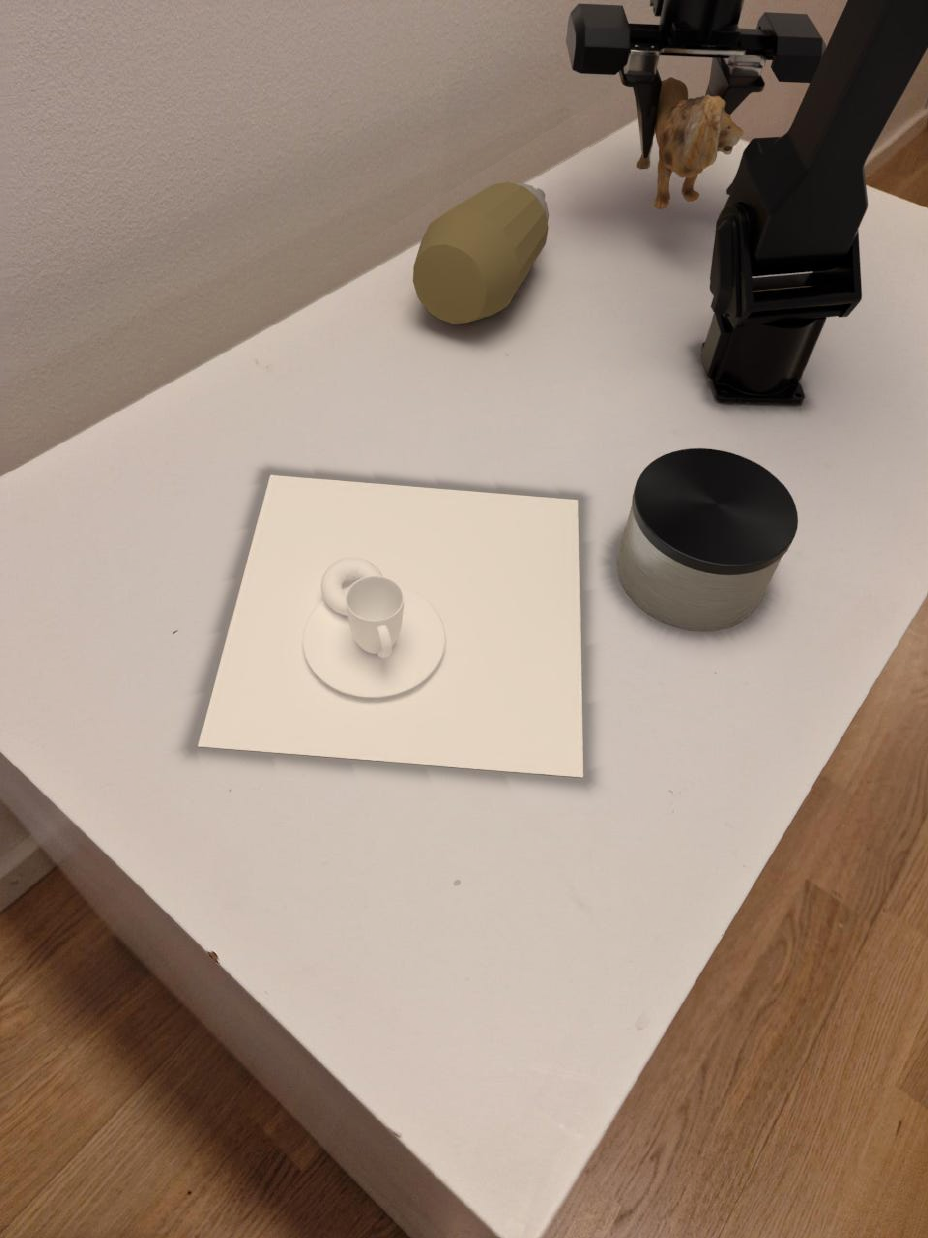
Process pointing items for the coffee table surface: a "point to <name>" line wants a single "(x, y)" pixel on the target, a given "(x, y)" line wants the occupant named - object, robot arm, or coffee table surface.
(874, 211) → the coffee table surface
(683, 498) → the steel canister
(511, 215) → the squeeze bottle
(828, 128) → the robot arm
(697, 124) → the lion figurine
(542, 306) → the coffee table surface
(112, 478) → the coffee table surface
